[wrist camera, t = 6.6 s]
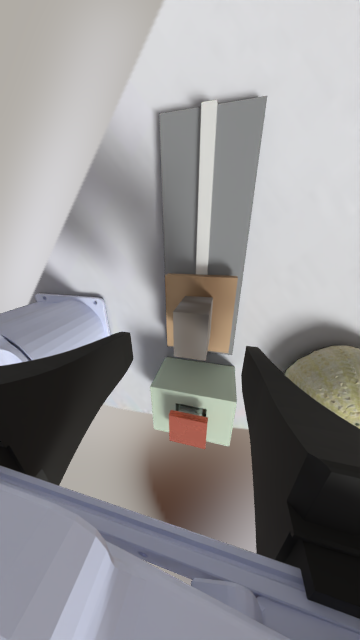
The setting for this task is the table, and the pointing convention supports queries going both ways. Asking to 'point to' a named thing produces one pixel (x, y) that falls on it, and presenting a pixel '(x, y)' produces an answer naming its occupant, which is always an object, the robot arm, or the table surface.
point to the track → (210, 187)
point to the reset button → (188, 426)
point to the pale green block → (196, 395)
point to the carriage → (199, 313)
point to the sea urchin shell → (331, 379)
